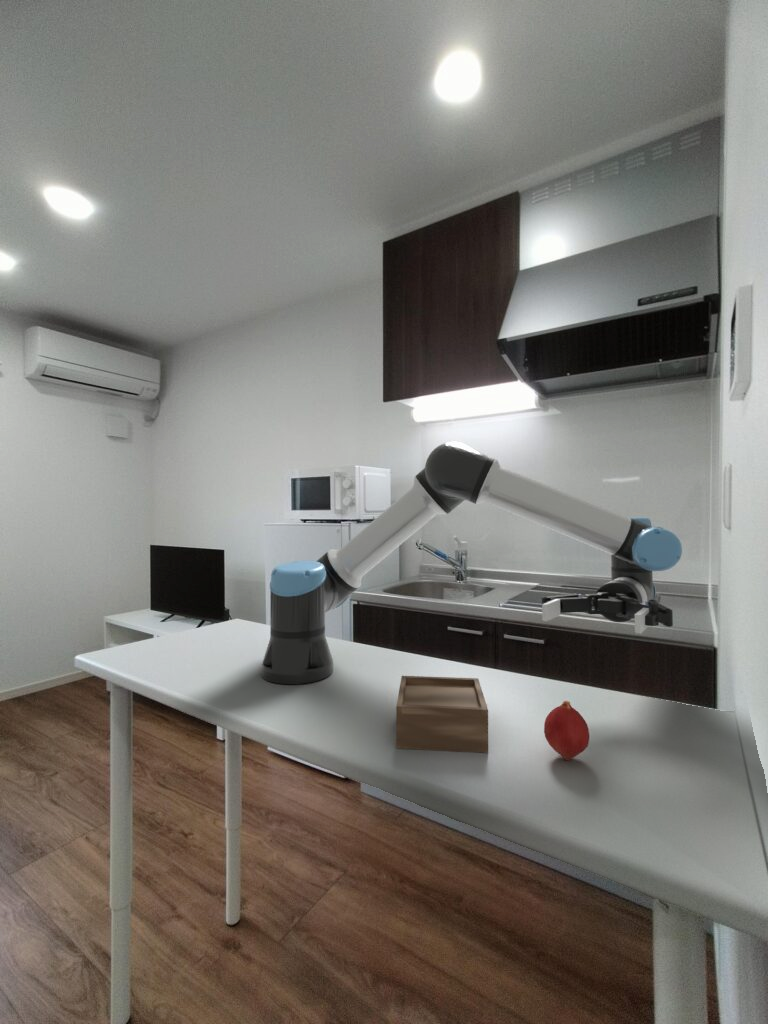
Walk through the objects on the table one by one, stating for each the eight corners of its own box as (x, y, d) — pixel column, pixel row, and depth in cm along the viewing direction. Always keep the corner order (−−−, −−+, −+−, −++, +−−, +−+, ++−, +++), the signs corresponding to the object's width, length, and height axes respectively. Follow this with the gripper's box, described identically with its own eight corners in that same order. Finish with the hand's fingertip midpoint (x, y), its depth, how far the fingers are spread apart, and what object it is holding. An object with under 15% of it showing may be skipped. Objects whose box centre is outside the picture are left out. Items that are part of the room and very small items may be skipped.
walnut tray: (401, 710, 78) (401, 675, 78) (478, 713, 77) (478, 678, 77) (396, 748, 65) (396, 706, 65) (488, 752, 64) (488, 709, 64)
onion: (538, 747, 65) (538, 691, 66) (579, 748, 65) (578, 692, 65) (552, 770, 60) (552, 708, 60) (596, 770, 59) (596, 709, 60)
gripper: (700, 628, 79) (684, 657, 62) (555, 611, 95) (512, 630, 78) (699, 585, 79) (683, 602, 62) (554, 575, 95) (511, 586, 78)
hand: (588, 618), depth 70 cm, fingers open, 13 cm apart
